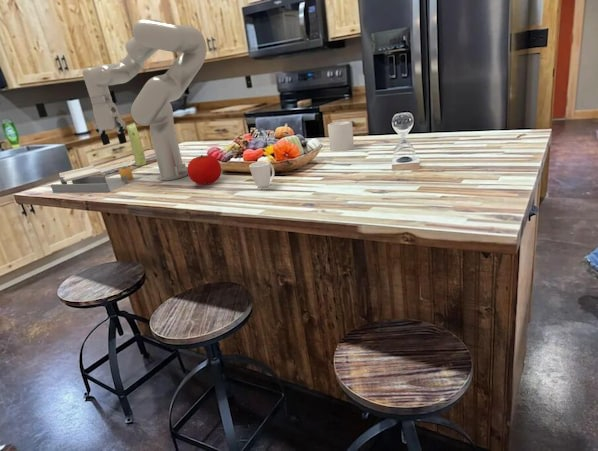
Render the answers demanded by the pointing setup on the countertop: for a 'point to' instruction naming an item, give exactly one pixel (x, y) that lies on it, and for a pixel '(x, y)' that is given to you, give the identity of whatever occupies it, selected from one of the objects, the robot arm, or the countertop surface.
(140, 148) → the tube
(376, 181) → the countertop surface
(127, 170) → the orange cube
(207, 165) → the tomato
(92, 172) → the cover
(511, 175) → the countertop surface
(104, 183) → the grey tray
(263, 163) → the cup
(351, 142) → the mug
